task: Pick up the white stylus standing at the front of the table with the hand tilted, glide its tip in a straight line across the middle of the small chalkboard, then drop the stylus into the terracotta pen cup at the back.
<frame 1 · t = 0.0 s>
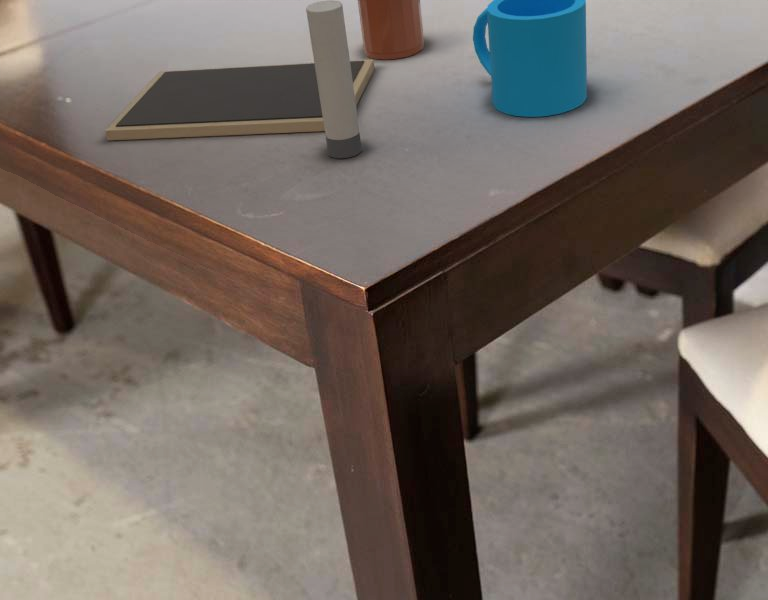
stylus: (345, 151, 92), on the table
small chalkboard: (246, 103, 104), on the table
pen cup: (394, 49, 111), on the table
mug: (524, 96, 98), on the table
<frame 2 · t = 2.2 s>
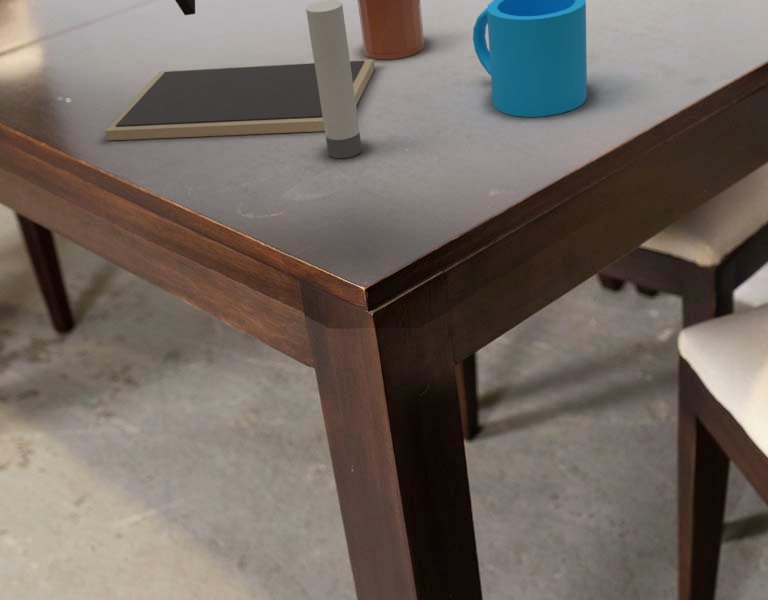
nothing on the table moved.
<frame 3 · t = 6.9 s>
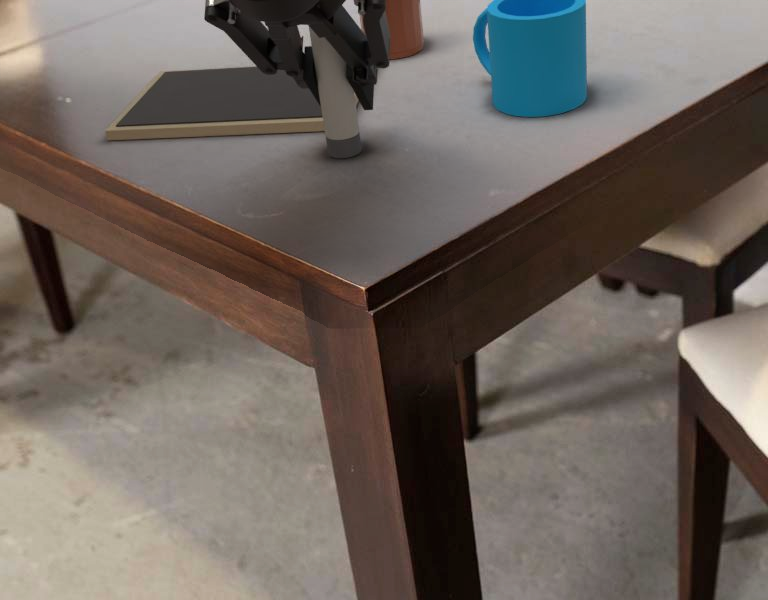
hand: (348, 95, 93), 3 cm above the table, tool tilted 45°, fingers closed on stylus, 3 cm apart
stylus: (345, 151, 92), on the table, touching gripper
everything else where it was.
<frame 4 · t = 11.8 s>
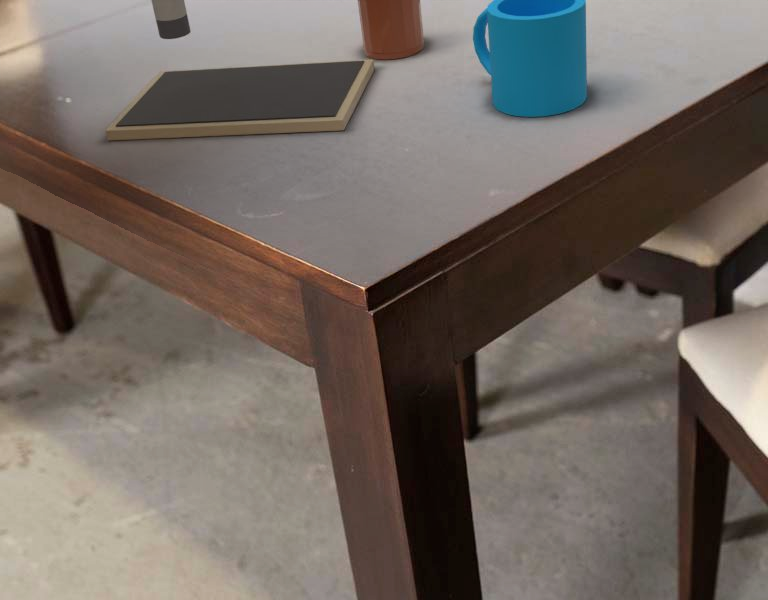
stylus: (175, 34, 99), point 7 cm above the table, touching gripper
everything else where it was.
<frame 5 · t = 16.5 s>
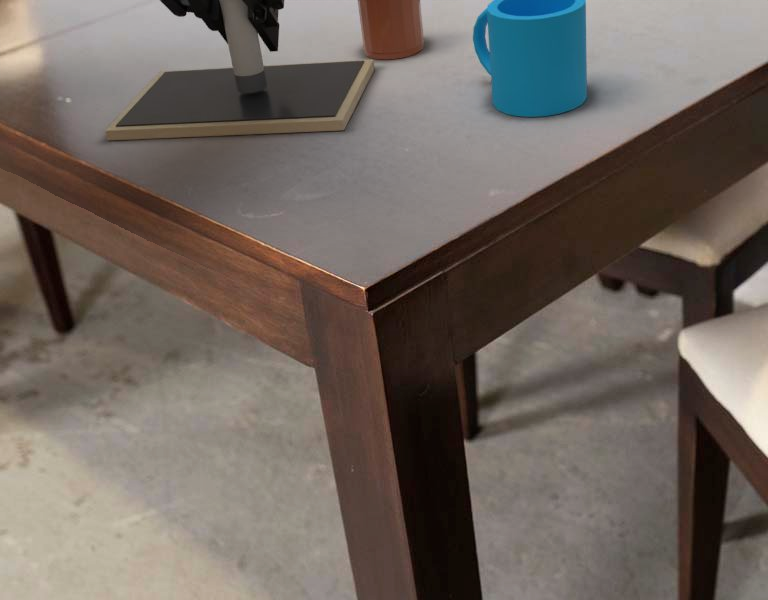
hand: (256, 38, 104), 5 cm above the table, tool tilted 45°, fingers closed on stylus, 3 cm apart
stylus: (252, 88, 102), point 1 cm above the table, touching gripper
everything else where it was.
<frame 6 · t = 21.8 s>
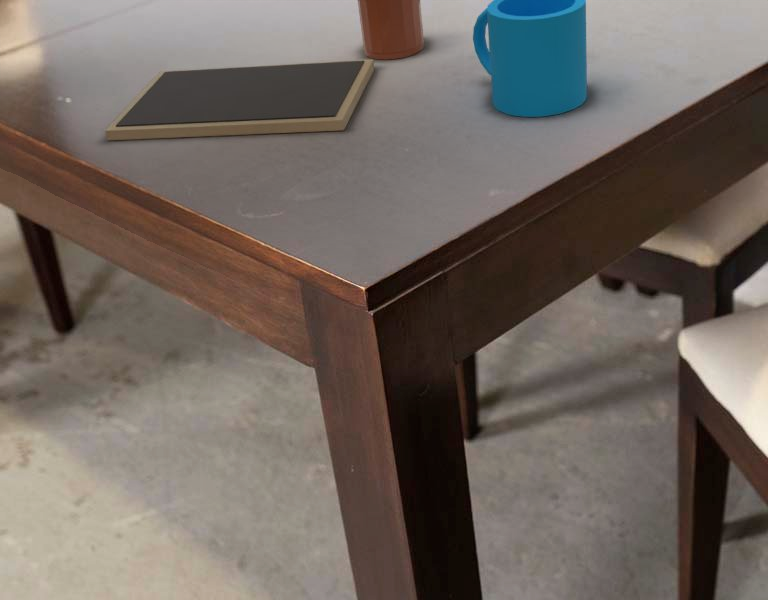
when the fingers open (9 cm above the table, at t = 26.4 s): stylus drops 5 cm, resting on pen cup.
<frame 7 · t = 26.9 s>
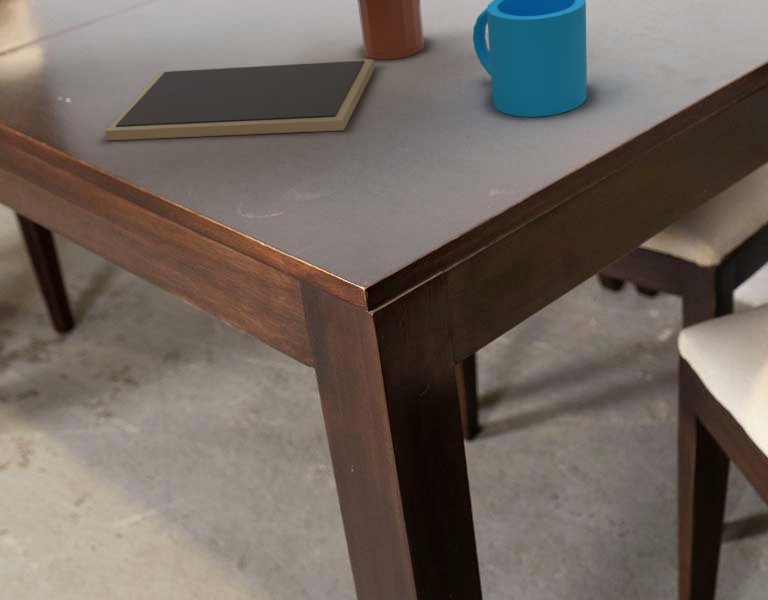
stylus: (393, 43, 111), point 1 cm above the table, touching pen cup
everything else where it was.
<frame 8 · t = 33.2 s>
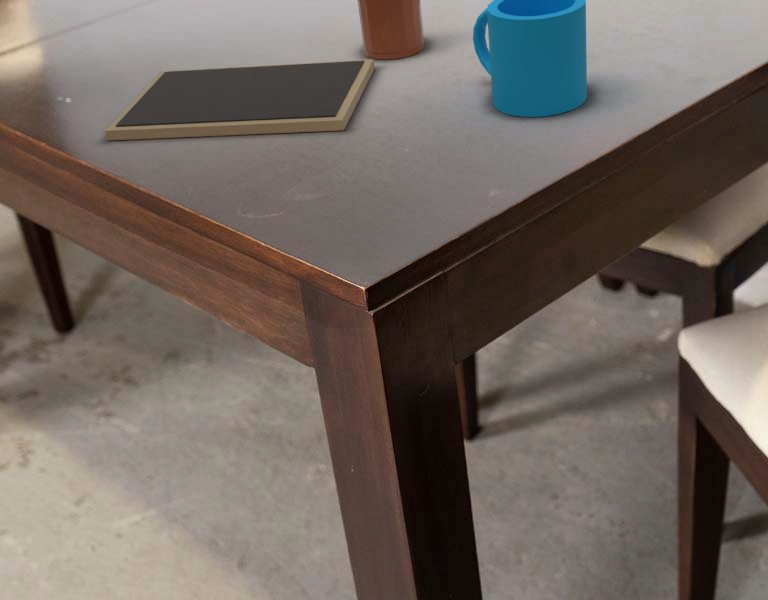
nothing on the table moved.
at the end: stylus 0.1 cm off-centre in the pen cup, point 0.6 cm above the pen cup's base; stylus tilted 0°; the gripper is holding nothing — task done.
